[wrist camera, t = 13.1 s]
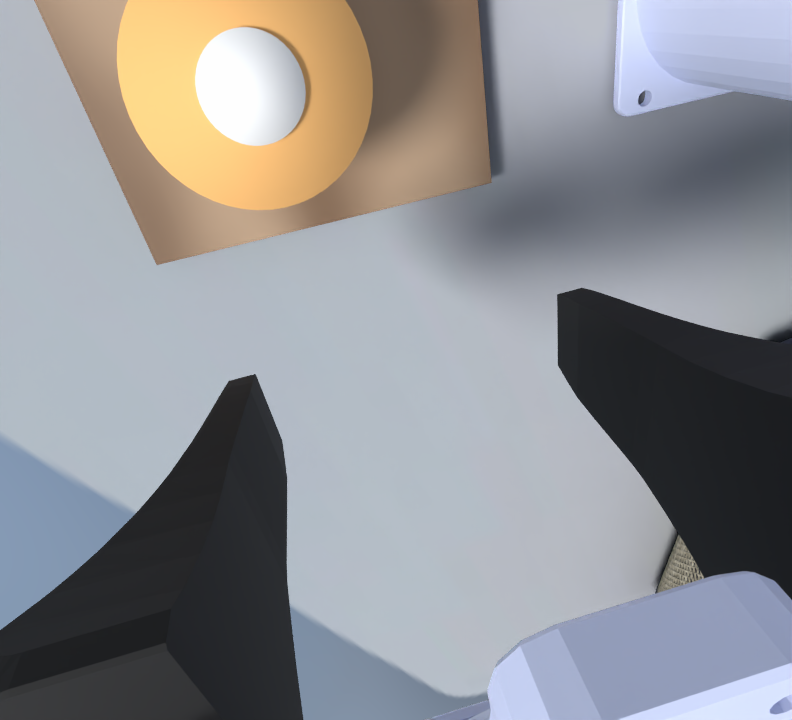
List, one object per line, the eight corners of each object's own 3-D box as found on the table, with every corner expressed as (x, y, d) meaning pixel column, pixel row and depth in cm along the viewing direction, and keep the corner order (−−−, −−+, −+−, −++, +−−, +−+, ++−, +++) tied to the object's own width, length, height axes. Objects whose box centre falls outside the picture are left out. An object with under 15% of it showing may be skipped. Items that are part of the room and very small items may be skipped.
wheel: (322, -68, 15) (343, -94, 11) (365, 146, 18) (393, 183, 14) (114, -25, 14) (61, -37, 11) (195, 186, 17) (177, 236, 14)
